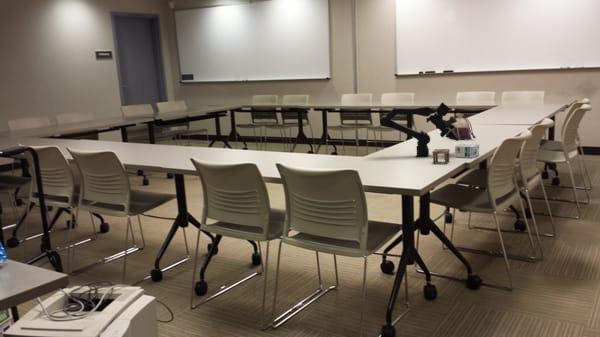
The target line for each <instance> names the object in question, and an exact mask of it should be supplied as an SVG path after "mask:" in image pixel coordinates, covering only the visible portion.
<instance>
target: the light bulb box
mask: <svg viewBox="0 0 600 337" xmlns="http://www.w3.org/2000/svg"><path fill="white" fill-rule="evenodd" d="M479 155H480V144H479V143H477V144H476V143H460V144H458V145H455V146H454V158H466V159H467V158H468V159H470V158H471V159H474V158H476V157H478V156H479Z"/></svg>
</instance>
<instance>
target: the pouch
mask: <svg viewBox="0 0 600 337" xmlns="http://www.w3.org/2000/svg"><path fill="white" fill-rule="evenodd" d="M464 115H465V114H464V113H459V112H457V113H455V116H454V117H455V118H456V120H457V122H456V123H453V125H454V126H455V127H454V133H455V134H456V136H457V138H458V139H459V140H465V139H471V140H473V139H476V136H475V135H474V132H473V128H472V124H471V122H470V121H469V119H468V117H465V116H464Z"/></svg>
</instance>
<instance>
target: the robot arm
mask: <svg viewBox="0 0 600 337" xmlns="http://www.w3.org/2000/svg"><path fill="white" fill-rule="evenodd" d="M451 110H452V109H451V108H450V107H449V106H448V105H446V104H445V103H444V102H443V101H442V102H441V103H440V104H439V105H438V106H437V108H436V107H435V108H433V107H430V106H428V105H425V106H419V107H393V108H392V109H391V110H390V111H389V112H388V113H387V114H386V115H383V116H382V117H381V118H380V120H379V123H380V125H381V126H382V127H385V128H390V129H394V130H396V131H399V132H401V133H404V134H406V135H408V136H410V137H412V138H414V139H415V140H417V141H416V144H417V145H416V156H415V157H416V158H426V157H428V156H430V148H429V145H428V144H430V142H431V136H430V135H429V134H428V132H425V131H424V130H420V131H417V130H414V129H412V128H410V127H407V126H406V125H403V124H401V123H398V122H397V121H395V120H394V118H395V117H396V115H417V116H422V117H426V118H425V119H426V123H430V122H431V123H432V124H433V126H434V127H435V128H436V129H438V130H439V131H440V133H439V136H440V137H441V138H448V139H450V140H453V141H456V142H459V141H460V139H458V138H457V136H456V134H455V133H454V127H455V126H454V125H453V123H456V122H457V120H456V118H455V117H456V116H453V115H452V116H450V117H449V119H447V120H446V119H443V118H442V117H445V116H447V114H449V113H450V112H451Z"/></svg>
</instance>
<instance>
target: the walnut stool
mask: <svg viewBox="0 0 600 337" xmlns="http://www.w3.org/2000/svg"><path fill="white" fill-rule="evenodd" d="M431 153H432V156H433V157H432V163H433V165H436V164H437V162H438V161H439V160H438V159H439V158H438V157H439V156H438V154H440V155H444V164H445V165H448V163H449V162H450V148H446V149H445V148H435V149H434V150H433V151H432V152H431Z"/></svg>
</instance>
